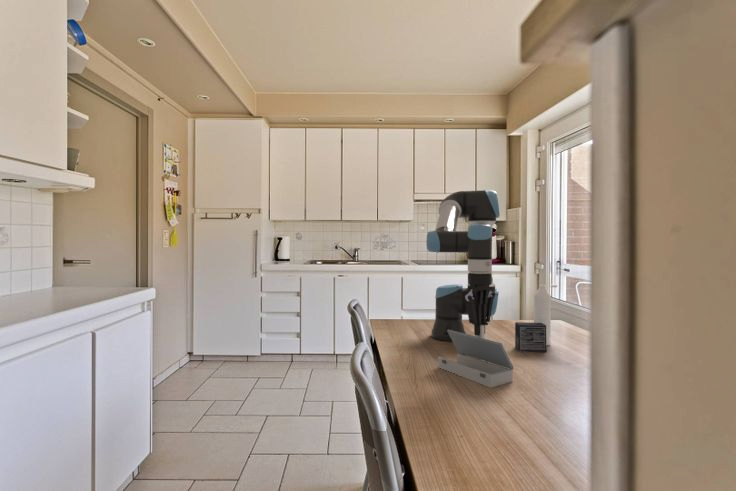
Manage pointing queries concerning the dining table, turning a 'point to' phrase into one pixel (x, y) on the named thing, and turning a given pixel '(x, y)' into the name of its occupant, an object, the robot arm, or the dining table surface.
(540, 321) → the water bottle
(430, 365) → the dining table surface
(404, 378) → the dining table surface
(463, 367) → the hinged pencil case
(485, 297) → the robot arm
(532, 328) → the small box
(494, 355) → the cover
